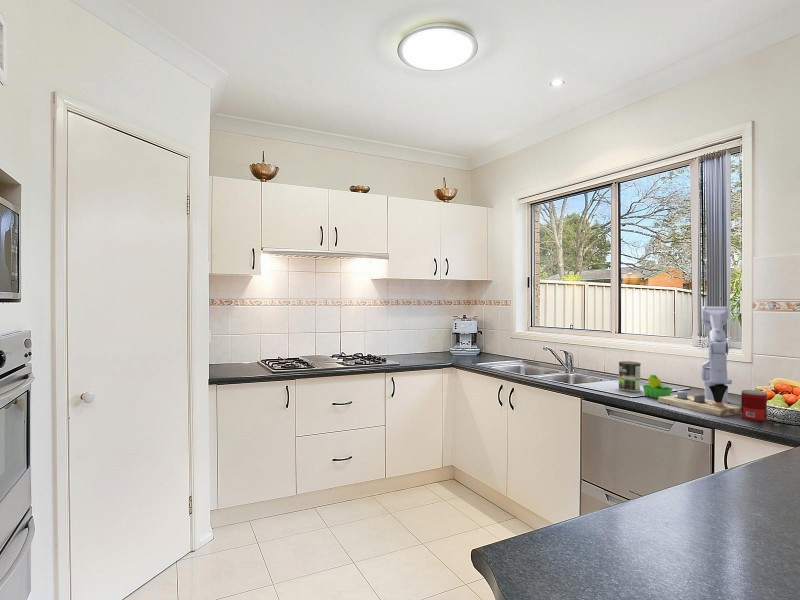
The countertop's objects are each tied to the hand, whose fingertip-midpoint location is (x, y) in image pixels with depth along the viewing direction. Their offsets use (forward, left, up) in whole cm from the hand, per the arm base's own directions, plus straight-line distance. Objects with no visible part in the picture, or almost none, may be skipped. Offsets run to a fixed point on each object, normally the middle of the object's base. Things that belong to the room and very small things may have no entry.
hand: (718, 402), depth 199 cm
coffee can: (-5, -49, -4) cm, 49 cm away
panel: (0, -8, -4) cm, 9 cm away
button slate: (0, -16, -2) cm, 16 cm away
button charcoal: (0, -8, -2) cm, 8 cm away
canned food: (0, +14, -4) cm, 15 cm away
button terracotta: (0, 0, -4) cm, 4 cm away
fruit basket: (-1, -30, -4) cm, 30 cm away
